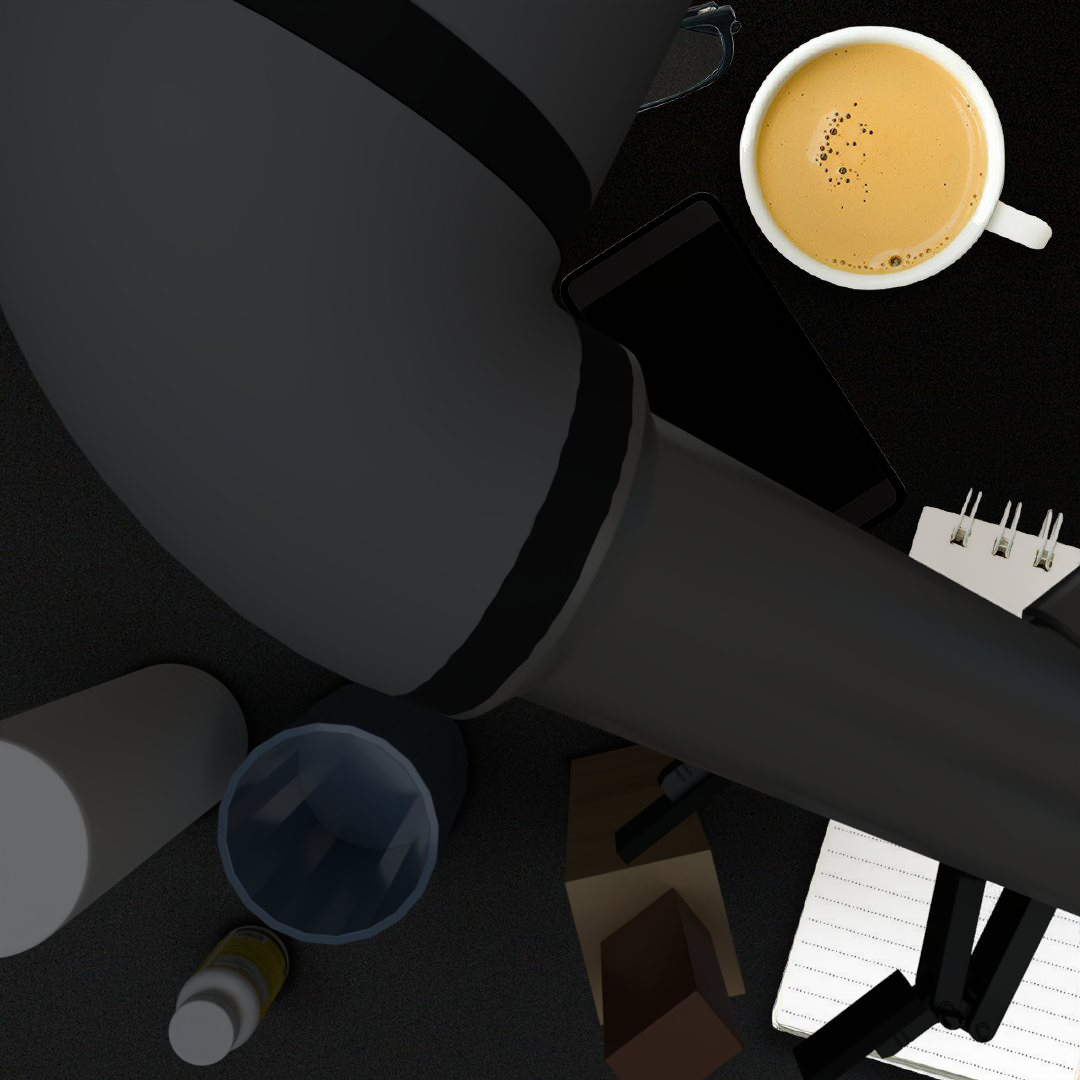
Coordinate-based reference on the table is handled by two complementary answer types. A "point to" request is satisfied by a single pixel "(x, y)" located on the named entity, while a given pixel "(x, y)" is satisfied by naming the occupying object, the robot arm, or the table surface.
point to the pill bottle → (228, 995)
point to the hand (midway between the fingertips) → (710, 960)
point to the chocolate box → (665, 997)
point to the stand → (635, 860)
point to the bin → (343, 815)
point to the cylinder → (105, 788)
